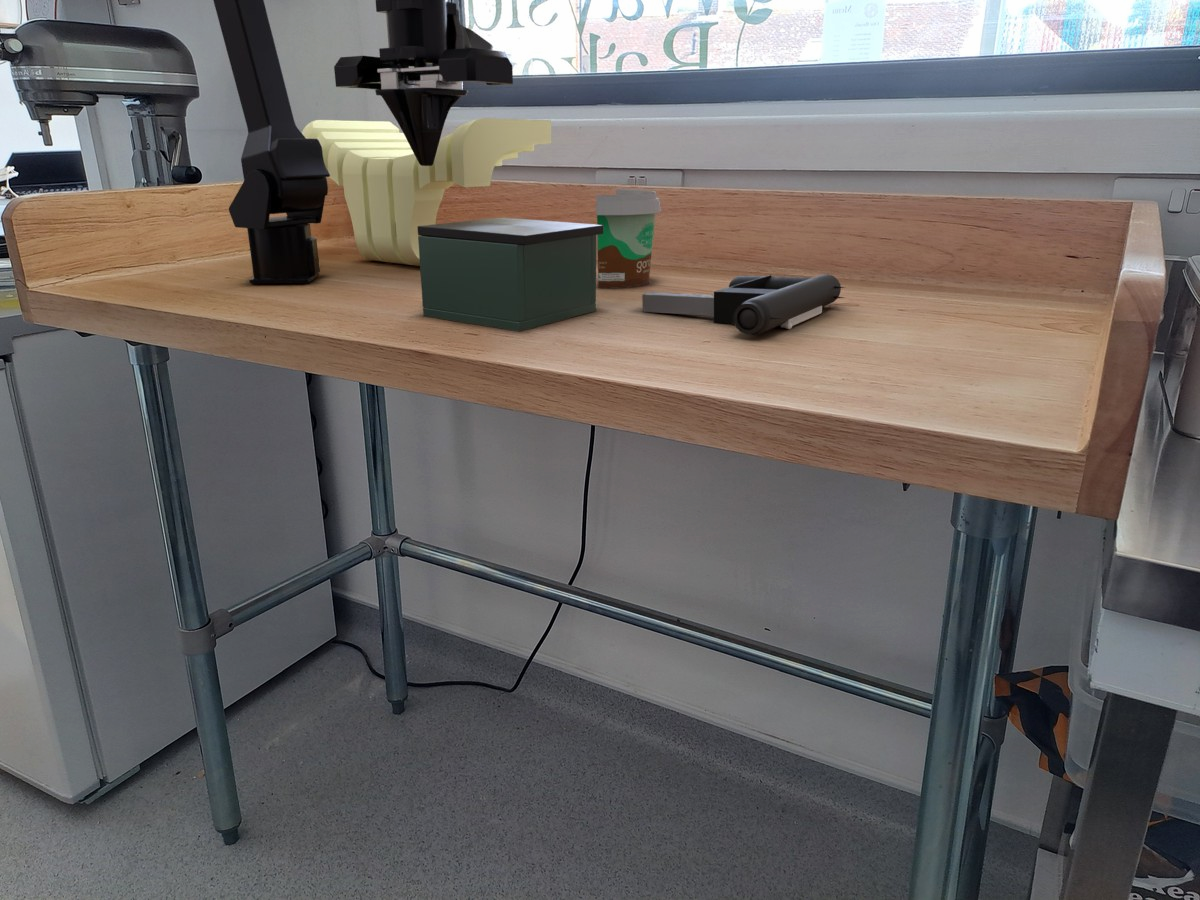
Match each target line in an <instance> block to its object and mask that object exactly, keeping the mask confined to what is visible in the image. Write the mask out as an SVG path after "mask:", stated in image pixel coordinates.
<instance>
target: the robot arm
mask: <svg viewBox="0 0 1200 900" xmlns="http://www.w3.org/2000/svg"><path fill="white" fill-rule="evenodd" d="M213 5H214V9H215V12H216V16H217V20H218V23H219V28H220V31H221V34H222V38H223V41H224V45H225V49H226V53H227V57H228V61H229V64H230V69H231V71H232V76H233V79H234V83H235V86H236V87H235V88H236V90H237V94H238V98H239V102H240V106H241V109H242V113H243V117H244V121H245V124H246V127H247V136H246V139H245V143H244V147H243V150H242V154H241V157H240V162H241V168H242V176H243V182H242V184H241V186H240V187H239V189H238V191H237V193H236V194H235V196H234V198H233V199H232V201H231V203H230V205H229V206H228V212H229V214H230V218H231V220H232V223H233V225H234V227H235V228H242V229H246V230H247V238H248V245H249V252H250V259H251V267H252V274H253V276H252V277H251V278H249V279H248V282H249V284H307V283H310V282H312V281H313V280H314V279H316V278H317V277H319V276H320V272H321V267H320V258H319V249H318V248H319V247H318V241H317V238H316V237H315V236H312V230H311V224H317V225H318V224H322V218H323V213H324V206H325V201H326V196H328V192H329V185H328V178H327V179H326V177H330V174H329V172H328V170H327V169H326V166H325V163H324V159H323V152H322V146H321V144H320V142H319V140H318V139H306V138H305V137H304V135H303V134H302V131H301V130H300V129H299V128H298V126H297V125H296V122H295V118H294V114H293V110H292V106H291V103H290V99H289V94H288V91H287V87H286V82H285V79H284V75H283V71H282V66H281V63H280V59H279V55H278V51H277V47H276V43H275V39H274V36H273V31H272V28H271V24H270V19H269V15H268V12H267V7H266V4H265V0H213ZM457 6H458V5H457V3H456V2H451V1H448V0H375V11H376V13H380V14H385V16H386V17H385V18H386V30H387V31H386V32H387V42H388V44H387V45H388V47H382V48H381V47H380V48H378V51H379V53H378V54H379V56H372V55H371V56H370V55H353V56H352V55H351V56H340V57H339V58H338V60H337V62H336V63H335V64H334V66H333V71H334V81H335V87H336V88H342V89H343V88H344V89H359V90H374V91H375V96H379V97H381V98H382V99H383V101H384V102H385V104H386V106H387V107H388V109H389V111H390V113H391V114H392V116H393V117H394V119H395V120H396V122H397V124H398V126H399V129H401V131H402V133H404V135H405V137H406V139H407V141H408V143H409V145H410V147H411V149H412V151H413V153H414V155H415V157H416V158H417V160H418V162H419V164H420V165H421V166H432V165H433V163H434V160H435V156H436V152H437V148H438V145H439V141H440V139H441V138H442V134H443V130H444V127H445V123H446V120H447V118H448V115H449V112H450V111H451V108H452V107H453V106H454V105H455V104H456V103H457V102H458V100H460V98H462V97H467V95H468V93H469V90H467V89H463V88H464V87H463V85H464V84H463V83H464V82H474V83H475V82H477V83H485V84H486V85H487V86H510V85H512V86H513V84H514V78H513V77H514V75H513V73H514V71H513V63H512V62H511V60H510V58H509V56H508V55H507V53H506V52H505V51H502V50H494V46H493V44H491V43H490V42H489V41H487V40H486V39H485V38H483V37H482V36H480V35H479V34H478V33H476V32H475V31H473V29H470V28H469V27H466V26H464V25H463V24H461V20H460V11H459V8H458V7H457ZM428 65H431V66H428ZM277 214H278V215H279V214H286V215H284V216H281V215H280V216H272V217H270V216H271V215H277Z"/></svg>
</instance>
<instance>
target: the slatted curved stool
mask: <svg viewBox="0 0 1200 900" xmlns="http://www.w3.org/2000/svg"><path fill="white" fill-rule="evenodd" d="M301 133H302V134H303V135H304V137H305V138H306V139H318V140H319V142H320V144H321V146H322V152H323V159H324V163H325V166H326V169H327V170H328V172H329V174H330V177H326V179H327V180H328V179H330V180H332V181H333V182H334V183H335V184H337V186H338V187H343V194H344V196H343V197H344V199H345V202H346V205H347V209H348V212H349V216H350V219H351V220H350V221H351V224H352V228H353V229H352V230H353V237H354V241H355V245H356V249H357V250H358V253H359V254H360V256H361V257H362V258H363V259H365V260H367V261H375V262H382V263H383V262H385V263H391V264H400V265H408V266H415V267H416V266H417V267H420V257H419V242H418V236H422V235H418V226H424V225H434V224H437V216H438V212H439V208H440V205H441V204H442V201H443V197H444V194H445V190H448V189H450V188H451V187H452V186H454V185H458V186H460V187H462V188H482V187H491V184H492V176H493V173H494V169H495V167H503V161H505V160H506V161H507V160H518V159H519V153H532V152H533V153H534V152H535V146H538V145H552V120H551V119H550V120H549V119H524V118H523V119H521V118H495V117H494V118H493V117H481V118H476V119H473V120H470V121H468V122H466V123H464V124H461V125H459V126H457V127H456V129H455V130H454V132H452V133H450V134H448V135H445V136H443V137H440V141H439V145H438V148H437V152H436V156H435V160H434V163H433V165H432V166H421V165H420V164H419V162H418V160H417V158H416V157H415V155H414V153H413V151H412V149H411V147H410V145H409V143H408V141H407V139H406V137H405V135H404V133H403V132H400V128H399V127H397V126H396V125H395V124H394V123H392V121H380V120H379V121H375V120H344V119H343V120H339V119H337V120H336V119H315V120H312V121H310V122H308V123H307V124H306V125H305V126H304V128H303V129H302V131H301Z"/></svg>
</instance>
